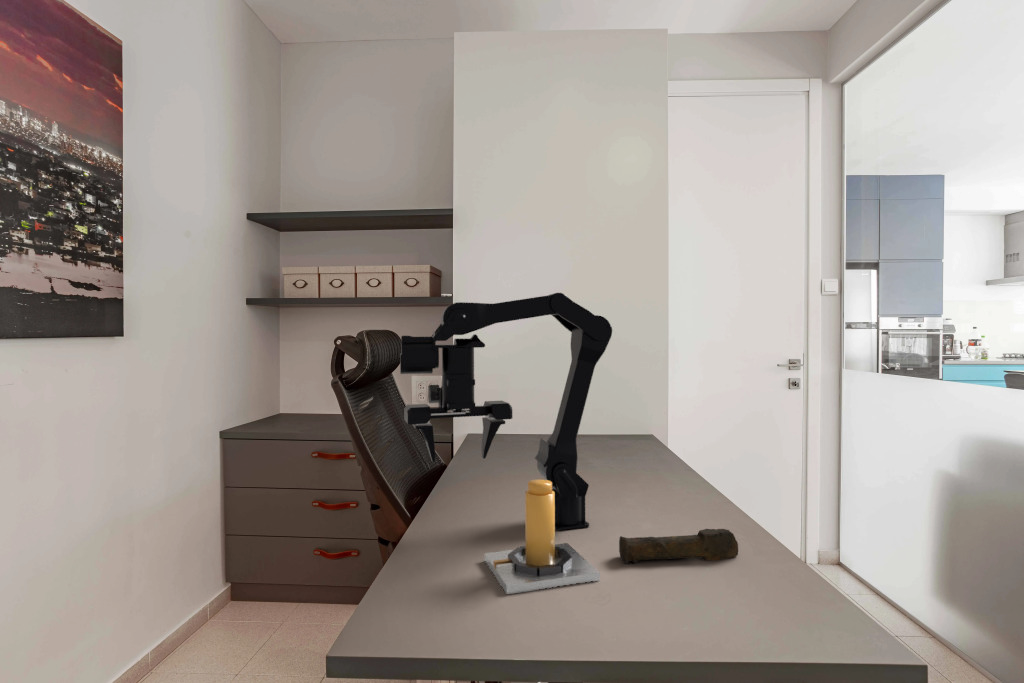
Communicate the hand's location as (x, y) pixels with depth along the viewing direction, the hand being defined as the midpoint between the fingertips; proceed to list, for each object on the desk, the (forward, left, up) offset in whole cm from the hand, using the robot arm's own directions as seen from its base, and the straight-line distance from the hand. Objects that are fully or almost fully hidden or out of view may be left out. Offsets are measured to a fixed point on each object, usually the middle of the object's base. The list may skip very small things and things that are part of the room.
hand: (458, 460), depth 102 cm
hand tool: (-31, +22, -14) cm, 40 cm away
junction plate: (-8, +20, -13) cm, 25 cm away
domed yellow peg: (-8, +20, -12) cm, 25 cm away
